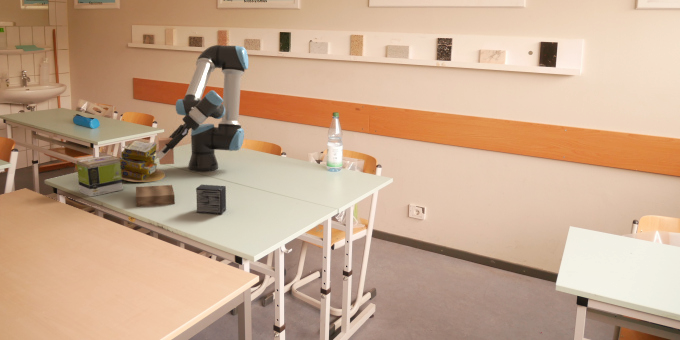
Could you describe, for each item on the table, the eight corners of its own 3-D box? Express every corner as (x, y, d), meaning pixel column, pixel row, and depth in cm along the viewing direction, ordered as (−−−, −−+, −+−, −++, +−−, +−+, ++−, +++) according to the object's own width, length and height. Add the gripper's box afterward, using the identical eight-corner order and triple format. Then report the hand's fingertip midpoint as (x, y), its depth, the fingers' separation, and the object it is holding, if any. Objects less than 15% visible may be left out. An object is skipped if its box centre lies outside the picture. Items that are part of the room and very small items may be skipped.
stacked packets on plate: (174, 173, 272) (173, 141, 268) (145, 186, 249) (143, 150, 245) (132, 168, 278) (130, 136, 274) (99, 180, 255) (97, 145, 251)
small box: (226, 209, 222) (226, 185, 219) (221, 215, 215) (221, 189, 213) (201, 208, 222) (201, 183, 220) (196, 213, 216) (195, 188, 214)
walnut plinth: (172, 193, 239) (172, 184, 238) (174, 203, 226) (174, 194, 225) (136, 195, 234) (135, 186, 233) (136, 206, 221) (136, 197, 220)
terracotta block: (173, 161, 247) (172, 137, 245) (174, 163, 243) (173, 139, 240) (159, 161, 245) (158, 138, 242) (160, 164, 241) (158, 140, 238)
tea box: (111, 185, 247) (109, 154, 243) (123, 190, 241) (121, 158, 237) (78, 192, 236) (75, 159, 232) (89, 197, 229) (87, 163, 226)
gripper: (186, 110, 250) (150, 146, 249) (190, 116, 234) (151, 155, 232) (198, 121, 253) (163, 156, 252) (202, 128, 237) (165, 166, 236)
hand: (157, 155), depth 242 cm, fingers closed on terracotta block, 5 cm apart
